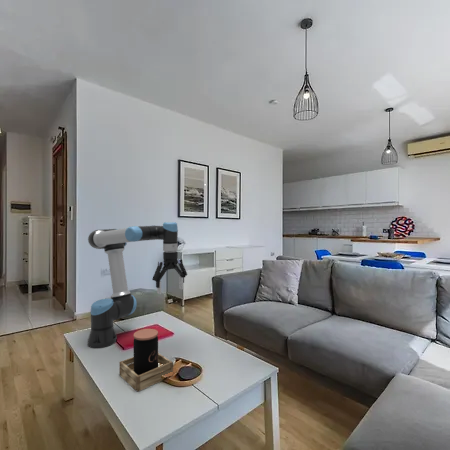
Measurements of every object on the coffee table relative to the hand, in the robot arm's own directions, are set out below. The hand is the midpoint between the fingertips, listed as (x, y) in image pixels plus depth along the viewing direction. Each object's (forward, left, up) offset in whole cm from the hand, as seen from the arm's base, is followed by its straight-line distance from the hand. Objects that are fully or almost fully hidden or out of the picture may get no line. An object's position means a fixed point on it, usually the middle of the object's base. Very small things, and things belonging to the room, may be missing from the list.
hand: (170, 291), depth 147 cm
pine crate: (+12, -21, -32) cm, 40 cm away
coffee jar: (+12, -21, -31) cm, 39 cm away
